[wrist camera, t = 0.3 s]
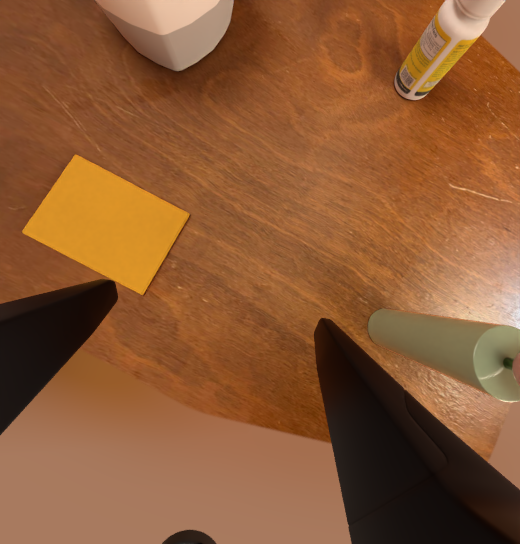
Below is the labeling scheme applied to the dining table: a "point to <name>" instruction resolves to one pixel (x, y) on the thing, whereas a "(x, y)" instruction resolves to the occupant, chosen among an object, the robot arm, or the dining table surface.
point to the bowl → (170, 27)
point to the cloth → (107, 224)
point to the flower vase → (454, 348)
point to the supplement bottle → (443, 44)
